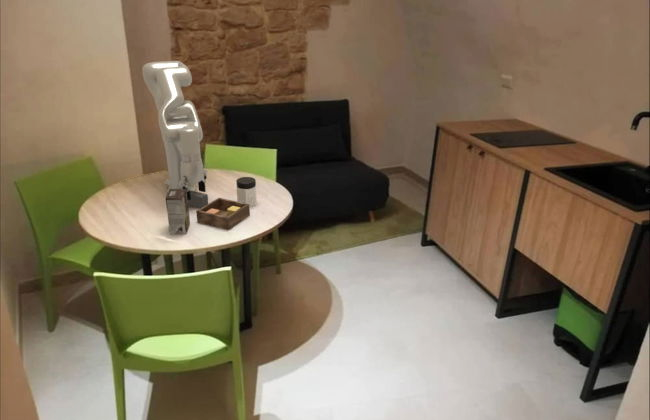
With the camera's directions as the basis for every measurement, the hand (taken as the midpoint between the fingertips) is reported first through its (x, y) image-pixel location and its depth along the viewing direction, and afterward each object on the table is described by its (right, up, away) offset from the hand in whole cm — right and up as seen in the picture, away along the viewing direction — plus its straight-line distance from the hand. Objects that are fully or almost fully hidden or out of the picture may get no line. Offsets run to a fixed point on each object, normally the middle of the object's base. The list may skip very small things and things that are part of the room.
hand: (195, 195), depth 207 cm
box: (+14, -11, -8) cm, 20 cm away
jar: (+21, -5, +6) cm, 22 cm away
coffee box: (-1, -15, -17) cm, 23 cm away
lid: (0, -6, +3) cm, 6 cm away
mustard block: (+18, -9, -8) cm, 22 cm away
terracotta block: (+10, -10, -10) cm, 18 cm away
